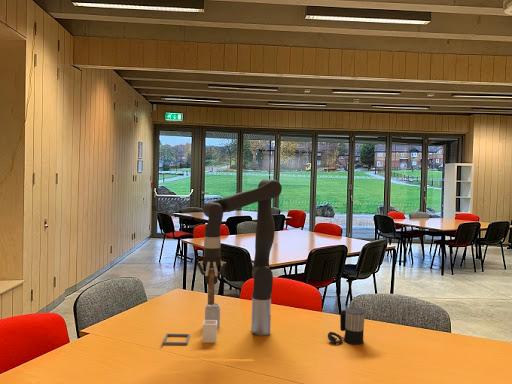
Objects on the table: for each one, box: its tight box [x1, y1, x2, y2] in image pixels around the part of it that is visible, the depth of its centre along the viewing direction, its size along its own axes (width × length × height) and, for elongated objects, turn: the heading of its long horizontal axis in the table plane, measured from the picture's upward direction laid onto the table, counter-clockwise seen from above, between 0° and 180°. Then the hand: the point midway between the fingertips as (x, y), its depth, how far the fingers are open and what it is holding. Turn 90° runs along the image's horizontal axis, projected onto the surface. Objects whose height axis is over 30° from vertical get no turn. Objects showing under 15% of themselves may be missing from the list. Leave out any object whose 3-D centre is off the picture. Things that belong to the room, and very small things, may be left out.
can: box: [204, 302, 221, 329], centre depth 220 cm, size 8×8×12 cm
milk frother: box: [327, 307, 366, 345], centre depth 208 cm, size 14×16×15 cm
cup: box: [201, 319, 218, 344], centre depth 202 cm, size 6×6×9 cm
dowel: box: [207, 268, 216, 305], centre depth 202 cm, size 3×3×16 cm
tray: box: [162, 333, 191, 347], centre depth 201 cm, size 11×11×2 cm
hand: (211, 283), depth 202 cm, fingers closed on dowel, 3 cm apart
